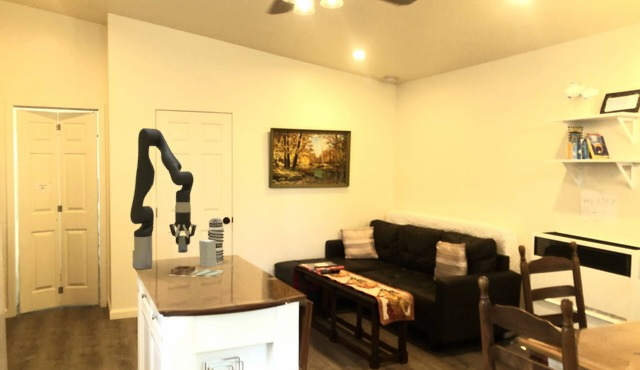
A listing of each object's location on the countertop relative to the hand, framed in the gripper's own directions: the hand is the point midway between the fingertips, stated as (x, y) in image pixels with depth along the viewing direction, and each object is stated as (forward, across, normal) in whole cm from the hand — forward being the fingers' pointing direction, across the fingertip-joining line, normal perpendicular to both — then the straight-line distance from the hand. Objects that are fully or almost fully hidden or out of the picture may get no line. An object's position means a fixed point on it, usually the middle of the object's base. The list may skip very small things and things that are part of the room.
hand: (182, 244), depth 242 cm
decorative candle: (+16, +6, +31) cm, 36 cm away
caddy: (+15, +7, 0) cm, 17 cm away
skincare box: (+16, +6, +18) cm, 25 cm away
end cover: (+4, 0, 0) cm, 4 cm away
